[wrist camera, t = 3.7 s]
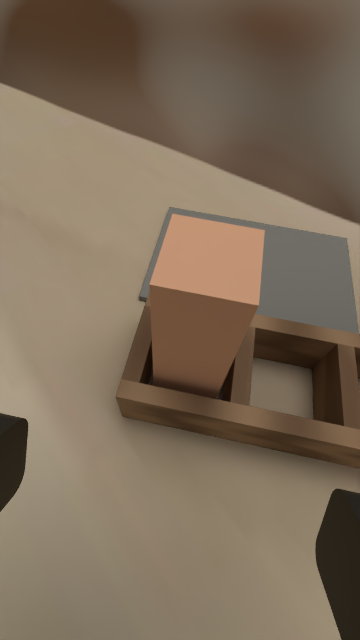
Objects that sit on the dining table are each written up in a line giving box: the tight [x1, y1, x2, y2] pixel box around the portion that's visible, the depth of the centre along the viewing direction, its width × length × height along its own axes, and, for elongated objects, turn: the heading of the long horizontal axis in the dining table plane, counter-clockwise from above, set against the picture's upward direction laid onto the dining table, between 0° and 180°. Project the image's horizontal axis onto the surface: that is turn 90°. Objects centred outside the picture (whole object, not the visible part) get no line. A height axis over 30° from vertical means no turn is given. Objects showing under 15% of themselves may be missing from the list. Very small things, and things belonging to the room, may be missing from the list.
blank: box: [149, 214, 265, 399], centre depth 20 cm, size 4×4×14 cm
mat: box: [139, 207, 359, 334], centre depth 32 cm, size 20×13×1 cm, turn 79°
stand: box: [116, 293, 360, 468], centre depth 23 cm, size 23×8×4 cm, turn 79°
